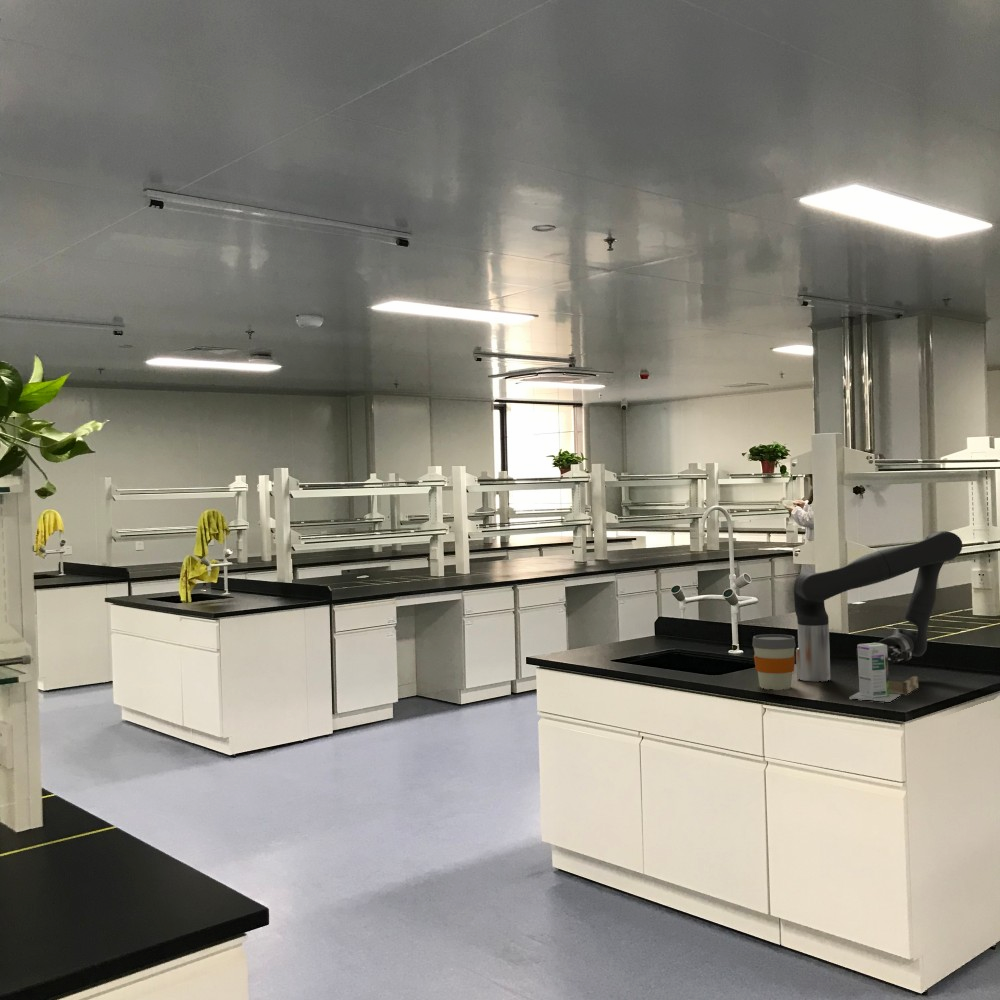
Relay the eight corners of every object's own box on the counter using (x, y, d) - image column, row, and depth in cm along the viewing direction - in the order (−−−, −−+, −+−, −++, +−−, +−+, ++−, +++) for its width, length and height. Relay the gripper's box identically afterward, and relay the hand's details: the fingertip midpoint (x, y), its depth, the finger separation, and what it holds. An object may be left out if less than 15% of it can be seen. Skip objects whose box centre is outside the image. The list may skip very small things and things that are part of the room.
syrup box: (872, 698, 274) (870, 645, 274) (858, 694, 280) (857, 643, 280) (889, 696, 276) (888, 644, 276) (875, 693, 281) (874, 641, 282)
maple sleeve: (879, 684, 296) (879, 673, 296) (918, 688, 290) (917, 676, 290) (866, 692, 286) (866, 679, 286) (906, 695, 280) (906, 683, 280)
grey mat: (849, 699, 277) (849, 697, 277) (860, 693, 285) (860, 691, 285) (890, 703, 270) (889, 700, 270) (900, 696, 278) (900, 694, 278)
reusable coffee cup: (761, 691, 291) (760, 640, 291) (748, 684, 304) (746, 635, 304) (803, 689, 292) (801, 638, 292) (788, 682, 305) (786, 633, 305)
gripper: (868, 635, 297) (850, 642, 284) (918, 637, 289) (902, 645, 276) (868, 660, 297) (851, 668, 284) (918, 663, 289) (903, 672, 276)
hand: (876, 656), depth 280 cm, fingers open, 8 cm apart
